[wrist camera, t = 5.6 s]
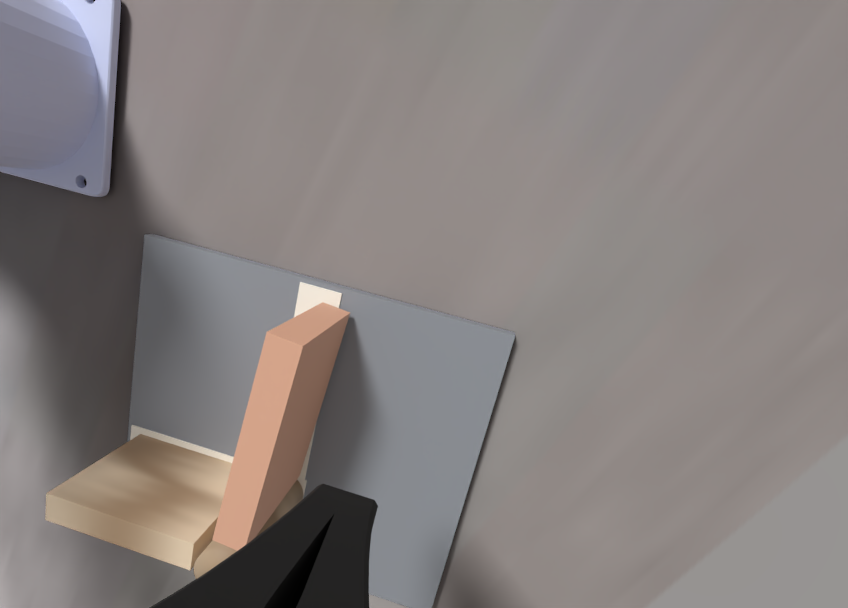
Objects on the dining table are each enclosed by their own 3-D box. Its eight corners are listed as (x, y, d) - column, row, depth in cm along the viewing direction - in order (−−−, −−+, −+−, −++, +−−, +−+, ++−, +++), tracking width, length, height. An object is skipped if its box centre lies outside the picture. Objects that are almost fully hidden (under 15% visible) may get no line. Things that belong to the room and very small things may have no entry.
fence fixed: (139, 462, 21) (37, 534, 16) (142, 425, 20) (38, 489, 16) (299, 515, 20) (242, 606, 15) (307, 478, 19) (250, 561, 15)
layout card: (129, 503, 22) (120, 510, 21) (153, 233, 19) (143, 234, 18) (431, 604, 20) (429, 615, 20) (514, 332, 17) (515, 335, 17)
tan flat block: (299, 476, 19) (243, 553, 15) (275, 465, 19) (211, 540, 15) (350, 312, 17) (303, 346, 13) (322, 302, 17) (266, 331, 13)
